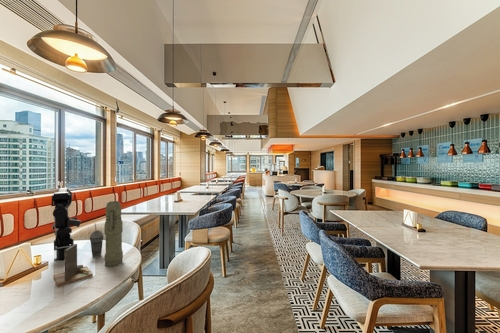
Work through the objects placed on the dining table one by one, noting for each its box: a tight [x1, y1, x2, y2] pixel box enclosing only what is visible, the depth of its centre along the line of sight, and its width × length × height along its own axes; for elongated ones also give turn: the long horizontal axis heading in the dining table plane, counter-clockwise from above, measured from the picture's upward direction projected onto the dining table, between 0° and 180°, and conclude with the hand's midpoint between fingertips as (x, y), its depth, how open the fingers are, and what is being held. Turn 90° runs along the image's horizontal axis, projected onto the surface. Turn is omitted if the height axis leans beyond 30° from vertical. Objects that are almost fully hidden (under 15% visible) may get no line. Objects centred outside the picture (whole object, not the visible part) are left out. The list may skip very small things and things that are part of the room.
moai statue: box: [103, 200, 124, 268], centre depth 129 cm, size 9×12×35 cm
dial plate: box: [53, 266, 94, 288], centre depth 112 cm, size 13×14×2 cm
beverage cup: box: [89, 223, 105, 258], centre depth 140 cm, size 7×7×20 cm
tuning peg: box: [63, 243, 91, 281], centre depth 112 cm, size 9×13×14 cm
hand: (61, 244), depth 123 cm, fingers closed
